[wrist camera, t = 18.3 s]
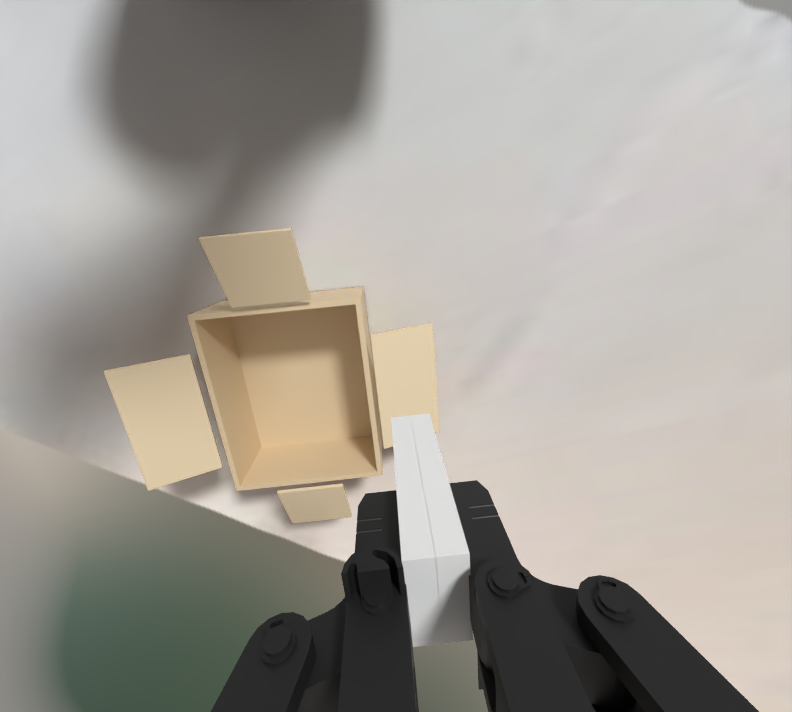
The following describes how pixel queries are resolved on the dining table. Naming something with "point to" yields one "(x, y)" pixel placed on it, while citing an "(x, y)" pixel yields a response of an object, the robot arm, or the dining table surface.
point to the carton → (292, 388)
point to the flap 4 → (405, 376)
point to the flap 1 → (165, 419)
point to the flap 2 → (257, 267)
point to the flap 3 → (315, 503)
